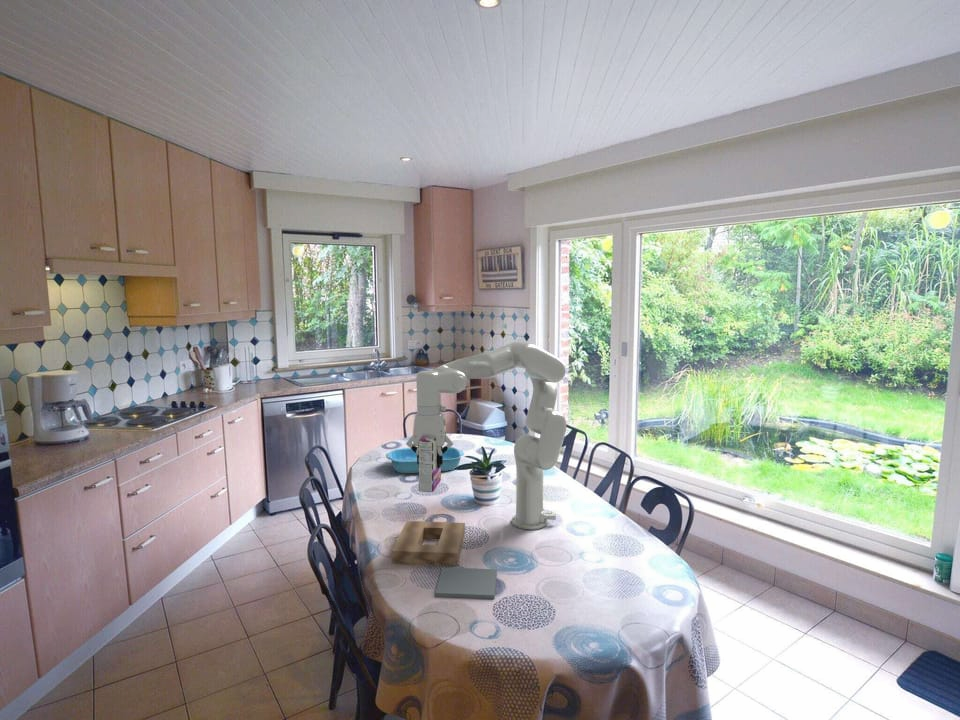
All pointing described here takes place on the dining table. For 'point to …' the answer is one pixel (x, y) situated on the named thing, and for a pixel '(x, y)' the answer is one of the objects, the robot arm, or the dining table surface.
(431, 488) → the candy bar box
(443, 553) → the pocket holder
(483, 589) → the charcoal mat
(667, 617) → the dining table surface
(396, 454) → the casserole dish
